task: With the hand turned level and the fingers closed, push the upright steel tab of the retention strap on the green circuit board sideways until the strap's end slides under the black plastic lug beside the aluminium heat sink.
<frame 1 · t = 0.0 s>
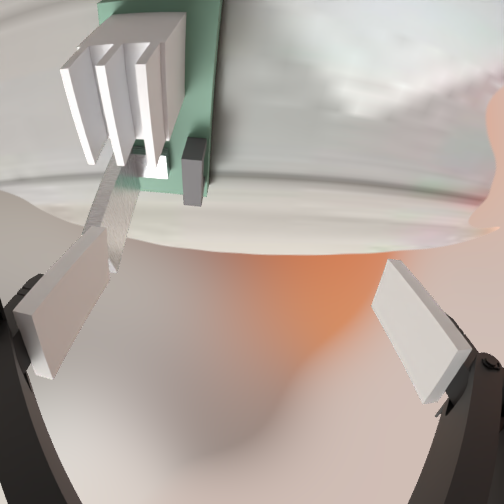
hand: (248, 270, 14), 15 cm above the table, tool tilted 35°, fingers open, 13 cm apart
heat-sink mount: (164, 104, 24), on the table
retention strap: (133, 202, 25), point 7 cm above the table, slide at 0.0 cm
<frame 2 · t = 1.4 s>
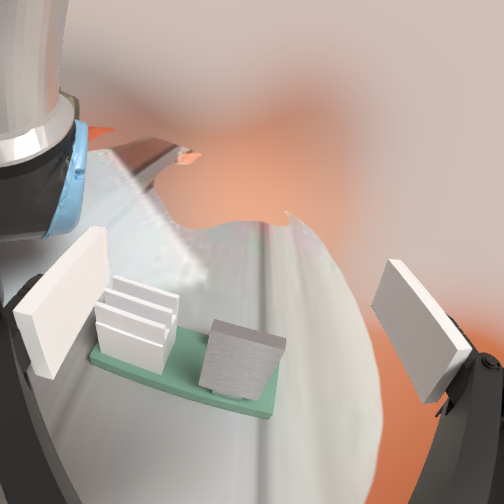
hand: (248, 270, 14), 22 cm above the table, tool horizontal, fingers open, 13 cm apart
heat-sink mount: (186, 366, 34), on the table
retention strap: (239, 356, 29), point 7 cm above the table, slide at 0.0 cm
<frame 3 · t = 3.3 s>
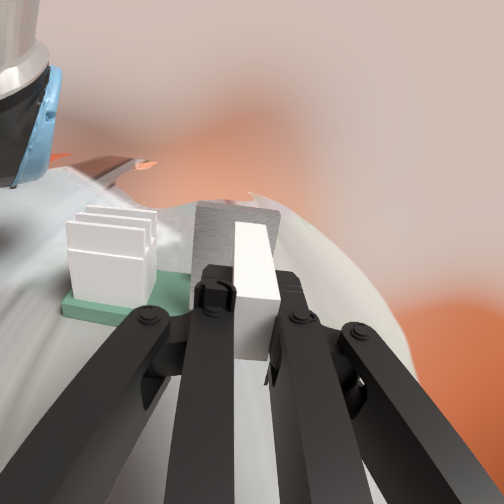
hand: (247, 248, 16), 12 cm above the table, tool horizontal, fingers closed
heat-sink mount: (172, 306, 30), on the table
retention strap: (230, 260, 27), point 7 cm above the table, slide at 0.0 cm
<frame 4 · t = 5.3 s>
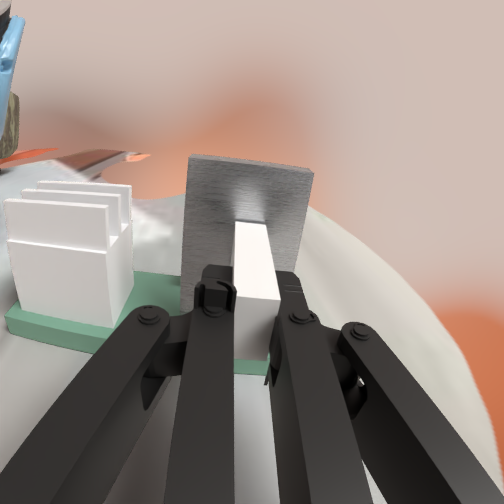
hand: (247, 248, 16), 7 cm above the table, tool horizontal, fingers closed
heat-sink mount: (155, 322, 21), on the table
retention strap: (238, 243, 19), point 7 cm above the table, slide at 1.3 cm, touching gripper
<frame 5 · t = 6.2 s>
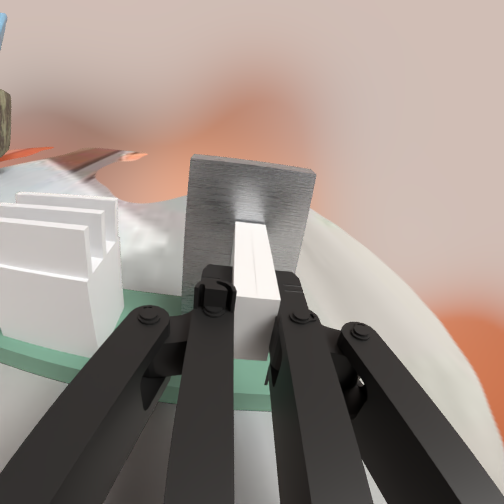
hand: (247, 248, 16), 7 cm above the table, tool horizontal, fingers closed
heat-sink mount: (148, 348, 19), on the table
retention strap: (240, 243, 19), point 7 cm above the table, slide at 4.1 cm, touching gripper
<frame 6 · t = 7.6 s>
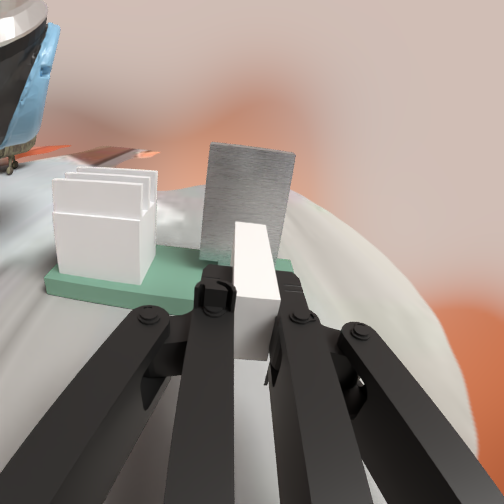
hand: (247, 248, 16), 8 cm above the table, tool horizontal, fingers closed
tabletop clock: (8, 170, 55), on the table
heat-sink mount: (173, 284, 26), on the table
retention strap: (243, 207, 26), point 7 cm above the table, slide at 3.5 cm
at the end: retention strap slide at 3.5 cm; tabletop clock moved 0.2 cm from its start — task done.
